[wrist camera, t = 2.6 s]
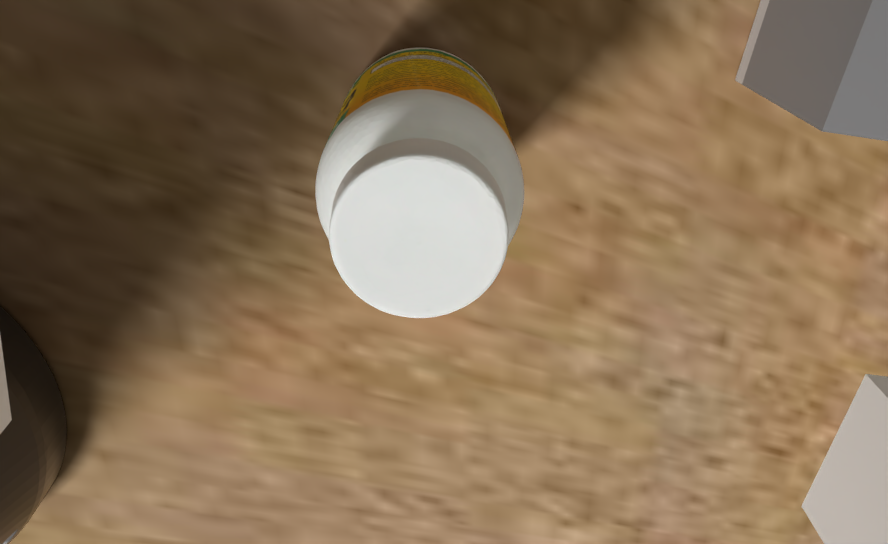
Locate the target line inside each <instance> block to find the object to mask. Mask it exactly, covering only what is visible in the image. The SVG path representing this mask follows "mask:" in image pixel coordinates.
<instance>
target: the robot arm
mask: <svg viewBox="0 0 888 544" xmlns="http://www.w3.org/2000/svg"><path fill="white" fill-rule="evenodd" d="M66 437H67V427H66V417H65V410H64V406H63V402H62V398H61V395H60V392H59V389H58V386H57V384H56V381H55V379H54V377H53V374H52V372H51V371H50V369H49V367H48V365H47V363H46V361H45V360H44V358H43V356H42V355H41V353H40V351H39V350H38V349H37V347H36V346H35V344H34V343H33V342H32V340H31V339H30V338H29V336H28V335H27V334H26V333H25V332H24V330H23V329H22V328H21V327H20V326H19V325H18V324H17V322H16V321H15V320H14V319H13V318H12V317H11V316H10V315H9V314H8V313H7V312H6V311H5V310H4V309H3V308H2V307H1V306H0V544H9V543H10V542H11V541H12V540H13V539H14V538H15V537H16V536H17V534H18V533H19V532H20V531H21V530H22V529H23V528H24V526H25V525H26V524H27V523H28V521H29V520H30V518H31V517H32V515H33V514H34V512H35V511H36V509H37V507H38V506H39V504H40V503H41V501H42V500H43V498H44V497H45V495H46V493H47V492H48V490H49V489H50V487H51V486H52V484H53V483H54V481H55V479H56V477H57V475H58V473H59V470H60V468H61V465H62V462H63V458H64V454H65V448H66ZM802 508H803V509H804V511H805V513H806V514H807V516H808V518H809V519H810V521H811V523H812V524H813V526H814V528H815V529H816V531H817V532H818V534H819V536H820V537H821V539H822V541H823V542H824V544H888V377H886V376H878V375H870V374H866V375H865V377H864V379H863V381H862V383H861V385H860V387H859V389H858V391H857V393H856V395H855V397H854V399H853V401H852V403H851V405H850V408H849V410H848V412H847V414H846V416H845V418H844V420H843V422H842V424H841V426H840V428H839V430H838V432H837V434H836V436H835V438H834V440H833V442H832V445H831V447H830V449H829V451H828V453H827V455H826V457H825V459H824V461H823V463H822V465H821V467H820V469H819V471H818V473H817V475H816V477H815V479H814V482H813V484H812V486H811V488H810V490H809V492H808V494H807V496H806V498H805V500H804V502H803V504H802Z"/></svg>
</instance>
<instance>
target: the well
mask: <svg viewBox="0 0 888 544" xmlns="http://www.w3.org/2000/svg"><path fill="white" fill-rule="evenodd" d="M735 81H737V82H739V83H740V84H742V85H744V86H746V87H747V88H749V89H751V90H752V91H754V92H756V93H758V94H759V95H761V96H763V97H764V98H766V99H768V100H769V101H771V102H773V103H775V104H776V105H778V106H780V107H781V108H783V109H785V110H787V111H788V112H790V113H792V114H793V115H795V116H797V117H798V118H800V119H802V120H804V121H805V122H807V123H809V124H810V125H812V126H814V127H816V128H817V129H819V130H821V131H823V132H830V133H837V134H844V135H850V136H857V137H864V138H870V139H877V140H884V141H888V0H761V2H760V5H759V8H758V11H757V14H756V17H755V20H754V23H753V26H752V29H751V33H750V36H749V39H748V42H747V45H746V48H745V51H744V54H743V57H742V60H741V63H740V66H739V70H738V73H737V76H736V79H735Z"/></svg>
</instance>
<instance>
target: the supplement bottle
mask: <svg viewBox="0 0 888 544" xmlns="http://www.w3.org/2000/svg"><path fill="white" fill-rule="evenodd" d="M315 196H316V204H317V210H318V215H319V218H320V222H321V224H322V227H323V229H324V231H325V234H326V235H327V237H328V239H329V244H330V250H331V254H332V258H333V261H334V264H335V266H336V268H337V270H338V272H339V274H340V276H341V277H342V279H343V280H344V281H345V283H346V284H347V285H348V286H349V288H350V289H351V290H352V291H353V292H354V293H355V294H356V295H357V296H358V297H359V298H361V299H362V300H364V301H365V302H366V303H368V304H369V305H371V306H373V307H375V308H377V309H379V310H381V311H384V312H387V313H390V314H393V315H398V316H402V317H410V318H430V317H436V316H441V315H445V314H449V313H451V312H454V311H456V310H459V309H461V308H463V307H465V306H467V305H468V304H470V303H472V302H473V301H474V300H476V299H477V298H478V297H480V296H481V295H482V294H483V293H484V292H485V291H486V290H487V289H488V288H489V287H490V285H491V284H492V283H493V281H494V280H495V278H496V277H497V275H498V273H499V271H500V270H501V268H502V265H503V263H504V260H505V257H506V253H507V248H508V245H509V243H510V242H511V240H512V238H513V236H514V234H515V232H516V230H517V227H518V225H519V222H520V218H521V215H522V209H523V203H524V180H523V174H522V169H521V165H520V162H519V159H518V156H517V153H516V150H515V147H514V145H513V142H512V140H511V137H510V135H509V132H508V129H507V126H506V124H505V121H504V118H503V115H502V112H501V110H500V107H499V104H498V102H497V99H496V97H495V95H494V93H493V91H492V90H491V88H490V86H489V85H488V83H487V82H486V81H485V80H484V78H483V77H482V76H481V75H480V74H479V73H478V72H477V71H476V70H475V69H474V68H473V67H472V66H471V65H469V64H468V63H467V62H465V61H464V60H462V59H461V58H459V57H457V56H455V55H453V54H451V53H448V52H445V51H442V50H438V49H432V48H407V49H402V50H398V51H395V52H392V53H390V54H388V55H386V56H384V57H382V58H380V59H379V60H377V61H376V62H374V63H373V64H372V65H371V66H369V67H368V68H367V69H366V70H365V71H364V72H363V73H362V74H361V75H360V76H359V77H358V79H357V80H356V81H355V82H354V84H353V85H352V87H351V89H350V90H349V92H348V94H347V96H346V98H345V100H344V103H343V106H342V108H341V111H340V113H339V115H338V118H337V120H336V122H335V125H334V127H333V129H332V132H331V134H330V136H329V138H328V141H327V143H326V145H325V148H324V150H323V153H322V156H321V159H320V162H319V166H318V171H317V176H316V194H315Z"/></svg>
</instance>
